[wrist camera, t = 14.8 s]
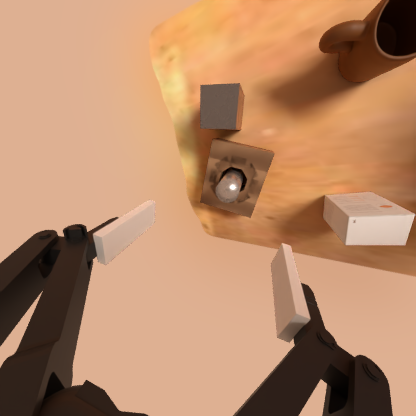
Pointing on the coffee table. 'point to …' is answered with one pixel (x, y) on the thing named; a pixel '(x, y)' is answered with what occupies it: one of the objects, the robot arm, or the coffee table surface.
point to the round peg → (230, 185)
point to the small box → (367, 219)
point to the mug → (374, 40)
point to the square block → (221, 106)
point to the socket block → (242, 159)
